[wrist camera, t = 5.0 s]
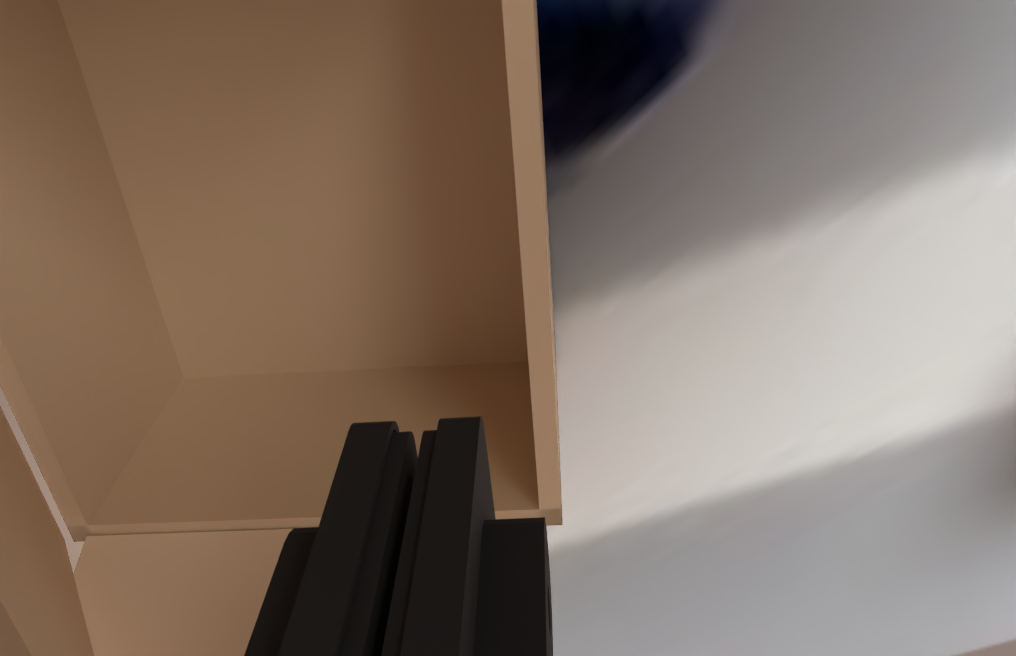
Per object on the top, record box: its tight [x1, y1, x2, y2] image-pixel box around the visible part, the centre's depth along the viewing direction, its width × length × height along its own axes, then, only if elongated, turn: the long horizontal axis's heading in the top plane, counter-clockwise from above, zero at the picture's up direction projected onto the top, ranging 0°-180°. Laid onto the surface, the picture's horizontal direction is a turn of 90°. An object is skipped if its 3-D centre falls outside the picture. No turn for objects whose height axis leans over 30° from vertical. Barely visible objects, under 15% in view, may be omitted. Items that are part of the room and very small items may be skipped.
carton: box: [0, 0, 562, 656], centre depth 20 cm, size 14×22×14 cm, turn 4°
